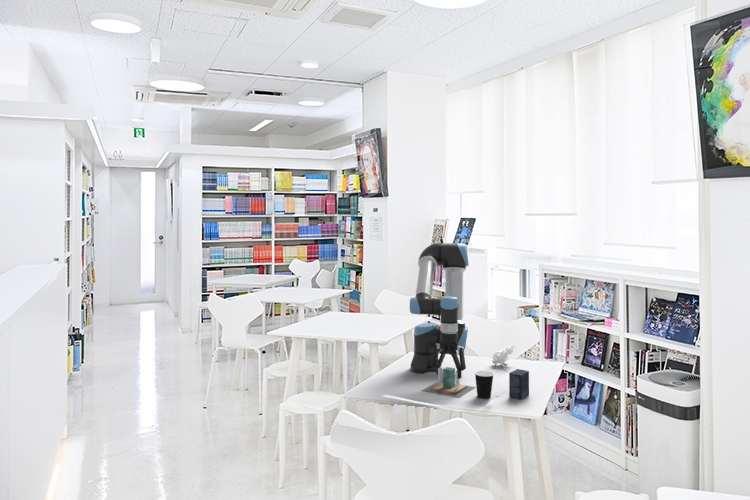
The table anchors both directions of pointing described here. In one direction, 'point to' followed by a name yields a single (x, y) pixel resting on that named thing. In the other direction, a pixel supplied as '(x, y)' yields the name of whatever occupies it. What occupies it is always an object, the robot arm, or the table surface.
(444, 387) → the lid
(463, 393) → the mat
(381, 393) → the table surface
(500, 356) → the character figurine
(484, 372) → the dixie cup
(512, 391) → the box
